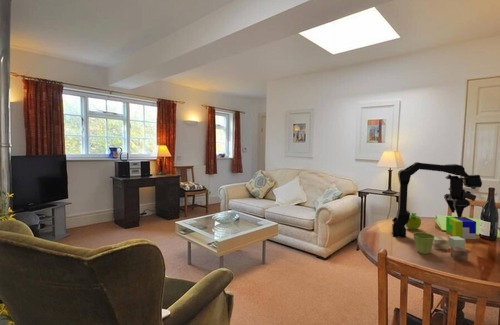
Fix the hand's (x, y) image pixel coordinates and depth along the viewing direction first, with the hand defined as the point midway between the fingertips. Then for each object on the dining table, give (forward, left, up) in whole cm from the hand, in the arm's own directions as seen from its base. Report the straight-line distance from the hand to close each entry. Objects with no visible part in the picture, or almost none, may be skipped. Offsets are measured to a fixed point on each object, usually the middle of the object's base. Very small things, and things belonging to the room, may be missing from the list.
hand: (456, 214), depth 144 cm
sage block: (-3, -11, -15) cm, 19 cm away
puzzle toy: (+5, +9, -15) cm, 18 cm away
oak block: (-11, -13, -15) cm, 23 cm away
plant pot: (-20, -22, -15) cm, 34 cm away
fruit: (-18, +16, -15) cm, 28 cm away
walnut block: (-7, -27, -15) cm, 32 cm away
